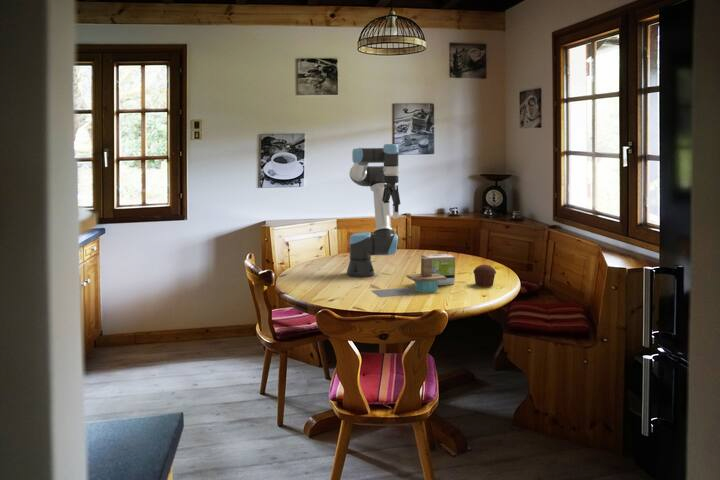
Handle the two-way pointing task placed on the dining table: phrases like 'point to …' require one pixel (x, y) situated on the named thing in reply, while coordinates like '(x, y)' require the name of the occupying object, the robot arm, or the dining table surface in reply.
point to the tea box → (443, 267)
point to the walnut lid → (426, 272)
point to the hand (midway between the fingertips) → (391, 217)
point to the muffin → (484, 275)
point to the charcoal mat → (394, 292)
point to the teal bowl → (426, 286)
